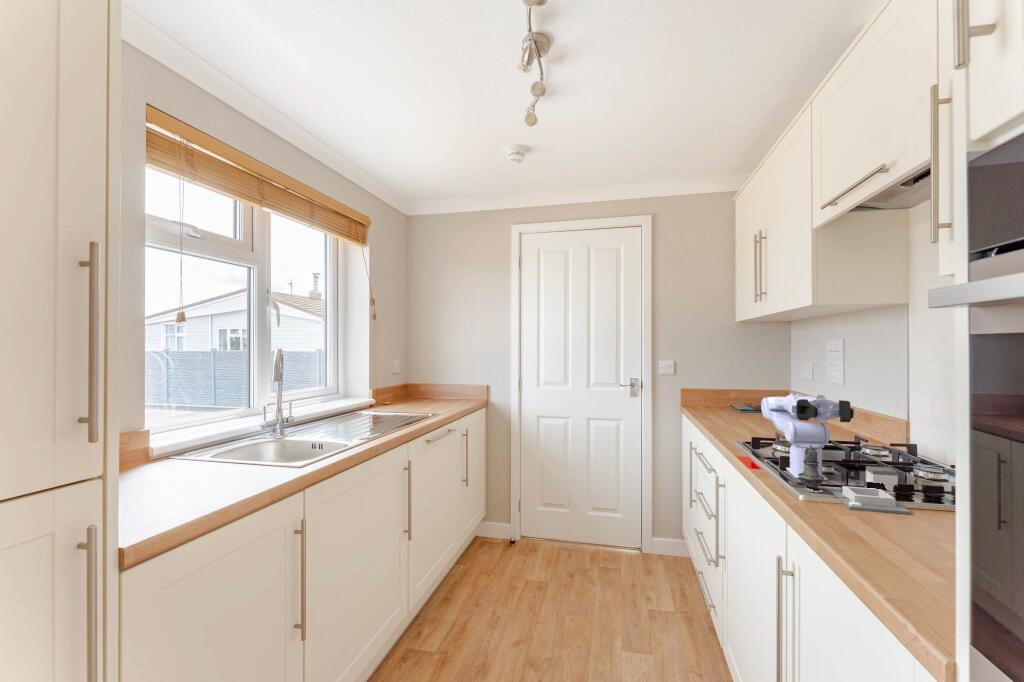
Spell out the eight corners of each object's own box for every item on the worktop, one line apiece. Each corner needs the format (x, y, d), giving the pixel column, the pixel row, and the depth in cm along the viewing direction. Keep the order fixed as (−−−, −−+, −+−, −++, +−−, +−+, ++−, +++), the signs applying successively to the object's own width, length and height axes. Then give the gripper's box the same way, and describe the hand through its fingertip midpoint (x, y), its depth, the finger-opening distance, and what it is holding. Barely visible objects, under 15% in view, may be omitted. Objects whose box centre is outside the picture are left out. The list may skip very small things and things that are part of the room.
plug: (865, 488, 121) (865, 466, 121) (889, 490, 120) (889, 467, 119) (873, 493, 117) (873, 470, 117) (897, 495, 116) (897, 472, 116)
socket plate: (829, 492, 118) (829, 482, 118) (884, 496, 115) (884, 486, 115) (849, 509, 107) (849, 498, 107) (911, 514, 103) (911, 503, 103)
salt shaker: (829, 493, 117) (829, 447, 117) (806, 493, 117) (806, 447, 117) (815, 486, 123) (814, 442, 123) (793, 486, 123) (793, 442, 123)
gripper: (784, 393, 128) (800, 396, 115) (843, 394, 124) (867, 397, 111) (784, 418, 128) (801, 423, 115) (844, 420, 124) (868, 426, 111)
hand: (833, 413), depth 113 cm, fingers open, 7 cm apart
